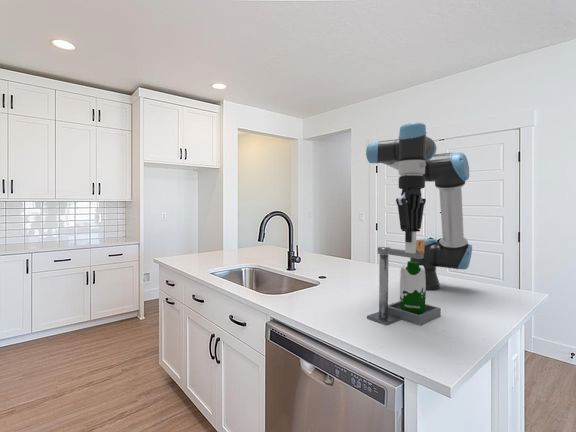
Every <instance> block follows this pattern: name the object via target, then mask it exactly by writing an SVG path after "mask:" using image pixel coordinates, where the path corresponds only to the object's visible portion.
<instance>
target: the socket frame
mask: <svg viewBox="0 0 576 432" xmlns="http://www.w3.org/2000/svg"><path fill="white" fill-rule="evenodd" d="M441 309H442V308H440V307H438V306H435V305H431V304H427V303H425V310H424V313H423V314H420V315H417V314H414V313H410V312H407V311H404V310H401V305H400V300H398V301H396V302H392V303H390V304H389V303H388V314H391V315H395V316H398V317H400V320H402V321H406V322H409V323H412V324H414V325H418V326H422V325H424V324H426V323H428V322H430V321H433V320H435V319H437V318H439V317H441V315H442V314H441Z"/></svg>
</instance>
